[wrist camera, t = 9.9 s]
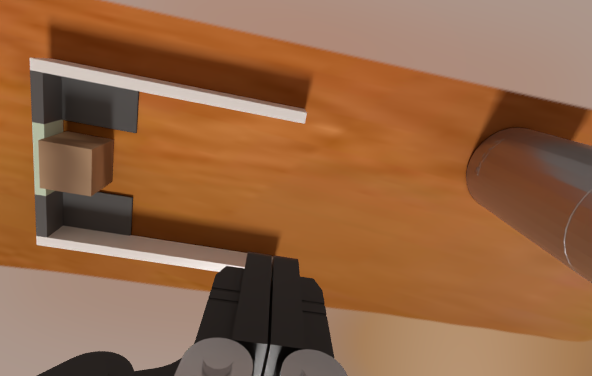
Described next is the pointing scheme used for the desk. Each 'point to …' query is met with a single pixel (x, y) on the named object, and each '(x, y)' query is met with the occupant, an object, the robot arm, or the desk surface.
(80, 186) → the walnut block
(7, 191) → the desk surface
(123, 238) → the box
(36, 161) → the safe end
